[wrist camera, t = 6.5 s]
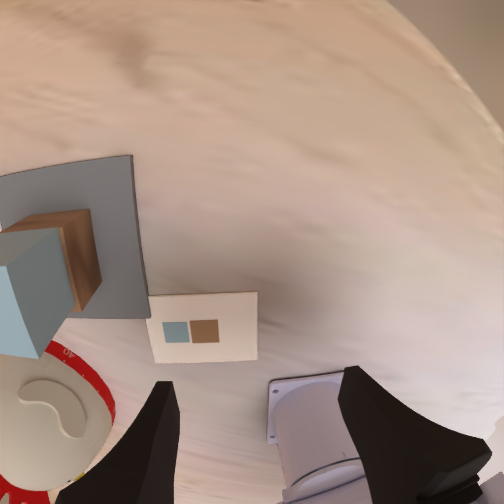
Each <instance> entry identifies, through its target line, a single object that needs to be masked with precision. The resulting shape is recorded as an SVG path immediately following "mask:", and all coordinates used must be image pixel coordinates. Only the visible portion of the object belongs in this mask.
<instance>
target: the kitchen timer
mask: <svg viewBox="0 0 504 504" xmlns="http://www.w3.org/2000/svg"><path fill="white" fill-rule="evenodd" d="M114 418H115V402H114V400H113V397H112V395H111V393H110V391H109V388H108V387H107V385H106V384H105V383H104V382H103V380H102V379H101V378H100V376H99V375H98V374H97V372H96V371H95V370H93V369H92V368H91V367H90V366H89V365H88V364H87V363H86V362H85V361H84V360H82V359H81V358H80V357H79V356H78V355H76V354H74V353H73V352H71V351H70V350H68V349H67V348H65V347H64V346H62V345H61V344H59V343H57V342H55V341H52V340H51V341H50V343H49V344H48V346H47V348H46V349H45V351H44V352H43V354H42V356H41V357H40V359H34V358H26V357H19V356H12V355H5V354H0V500H1V499H2V497H3V496H4V494H5V493H8V494H9V504H21V503H22V502H23V503H25V504H50V501H49V497H48V493H47V491H50V490H54V489H57V488H59V487H61V486H64V485H66V484H68V483H69V482H71V481H75V480H78V479H79V478H81V477H82V476H83V475H84V471H85V470H86V469H87V468H88V467H89V465H90V464H91V463H92V461H93V460H94V459H95V457H96V456H97V455H98V453H99V452H100V450H101V449H102V447H103V445H104V443H105V442H106V439H107V437H108V435H109V433H110V431H111V428H112V426H113V422H114Z"/></svg>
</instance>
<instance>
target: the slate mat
mask: <svg viewBox="0 0 504 504" xmlns="http://www.w3.org/2000/svg"><path fill="white" fill-rule="evenodd" d="M81 209H90V213H91V220H92V227H93V233H94V239H95V245H96V251H97V256H98V262H99V267H100V272H101V277H102V283H101V284H100V286H99V287H98V289H97V290H96V291H95V293H94V294H93V296H92V297H91V299H90V301H89V302H88V304H87V305H86V307H85V308H84V310H83V311H82V312H70V313H69V314H68V316H67V317H66V318H92V319H151V310H150V305H149V299H148V296H149V295H148V289H147V283H146V276H145V270H144V263H143V256H142V249H141V241H140V233H139V225H138V216H137V206H136V195H135V183H134V170H133V155H126V156H117V157H109V158H101V159H94V160H87V161H80V162H73V163H67V164H61V165H55V166H49V167H44V168H39V169H33V170H28V171H24V172H19V173H14V174H10V175H5V176H1V177H0V222H1V227H2V231H3V230H4V229H6V228H8V227H9V226H11V225H13V224H15V223H16V222H18V221H20V220H22V219H23V218H25V217H27V216H29V215H35V214H44V213H52V212H61V211H71V210H81Z"/></svg>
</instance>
